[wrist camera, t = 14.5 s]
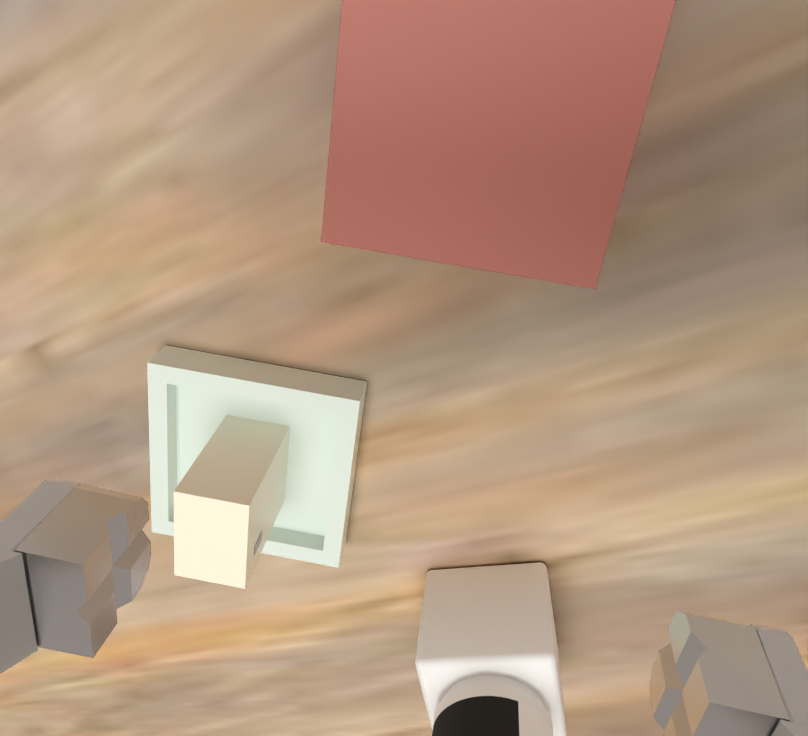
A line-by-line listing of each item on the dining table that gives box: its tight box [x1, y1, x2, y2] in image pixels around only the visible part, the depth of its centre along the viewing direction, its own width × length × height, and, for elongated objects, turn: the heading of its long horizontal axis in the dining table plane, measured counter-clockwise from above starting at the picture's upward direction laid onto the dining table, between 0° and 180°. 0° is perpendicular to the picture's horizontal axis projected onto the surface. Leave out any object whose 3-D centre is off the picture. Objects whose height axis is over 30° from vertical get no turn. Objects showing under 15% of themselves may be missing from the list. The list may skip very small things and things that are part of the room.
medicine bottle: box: [415, 562, 567, 736], centre depth 38 cm, size 7×7×12 cm
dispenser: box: [321, 0, 676, 289], centre depth 25 cm, size 9×10×12 cm
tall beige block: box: [174, 415, 290, 589], centre depth 36 cm, size 4×5×7 cm
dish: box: [147, 345, 367, 568], centre depth 39 cm, size 11×11×2 cm
